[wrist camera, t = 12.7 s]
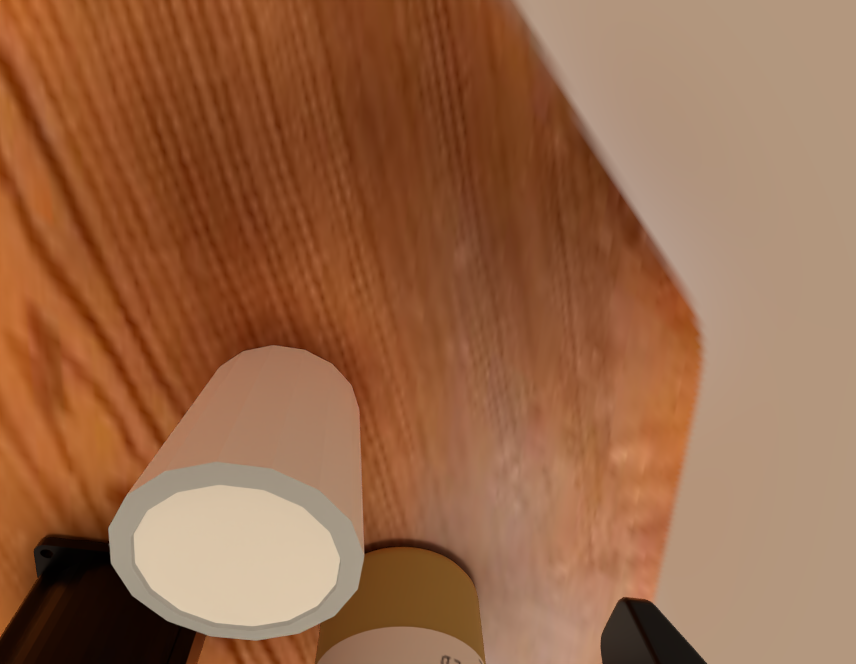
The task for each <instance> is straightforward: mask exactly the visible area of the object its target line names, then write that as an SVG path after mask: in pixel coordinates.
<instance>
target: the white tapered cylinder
mask: <svg viewBox="0 0 856 664" xmlns="http://www.w3.org/2000/svg"><path fill="white" fill-rule="evenodd" d="M108 532H109V545H110V558H111V564H112V566H113V567H114V569H115V570H116V572H117V573H118V575H119V577H120V578H121V580H122V581H123V583H124V584H125V586H126V587H127V589H128V590H129V592H130V593H131V595H132V596H133V597H135V598H136V599H137V600H139V601H140V602H141V603H143V604H144V605H146V606H147V607H148V608H150V609H151V610H153V611H154V612H155V613H157V614H158V615H160V616H161V617H162V618H164V619H165V620H167V621H169V622H172V623H174V624H177V625H180V626H183V627H186V628H188V629H191V630H194V631H197V632H200V633H203V634H205V635H208V636H213V637H224V638H234V639H245V640H262V639H269V638H275V637H281V636H287V635H293V634H299V633H301V632H303V631H305V630H307V629H309V628H311V627H313V626H315V625H317V624H319V623H321V622H323V621H325V620H328V619H330V618H332V617H334V616H335V615H336V614H337V613H338V612H339V610H340V609H341V608H342V607H343V606H344V605H345V603H346V602H347V601H348V600H349V599H350V598H351V597H352V595H353V594H354V593H355V592H356V591H357V590H358V586H359V581H360V576H361V571H362V566H363V561H364V531H363V501H362V472H361V442H360V413H359V407H358V403H357V400H356V397H355V394H354V391H353V388H352V385H351V384H350V383H349V382H348V381H347V379H346V378H345V377H344V376H343V375H342V374H341V373H340V372H339V371H338V369H337V368H336V367H335V366H334V365H333V364H332V363H330V362H328V361H326V360H324V359H322V358H320V357H318V356H316V355H314V354H312V353H310V352H308V351H307V350H304V349H297V348H290V347H283V346H276V345H271V346H266V347H261V348H256V349H251V350H246V351H242V352H241V353H239V354H238V355H236V356H235V357H233V358H232V359H230V360H229V361H227V362H226V363H224V364H223V365H221V366H220V367H219V368H218V370H217V371H216V372H215V374H214V375H213V377H212V378H211V379H210V381H209V382H208V384H207V385H206V386H205V388H204V389H203V390H202V392H201V393H200V395H199V396H198V397H197V399H196V400H195V401H194V403H193V404H192V406H191V407H190V408H189V410H188V411H187V412H186V414H185V415H184V417H183V418H182V419H181V421H180V422H179V424H178V425H177V426H176V428H175V429H174V430H173V432H172V433H171V435H170V436H169V437H168V439H167V440H166V441H165V443H164V444H163V446H162V447H161V448H160V450H159V451H158V453H157V454H156V455H155V457H154V458H153V459H152V461H151V462H150V464H149V465H148V466H147V468H146V469H145V470H144V472H143V473H142V475H141V476H140V477H139V479H138V480H137V481H136V483H135V484H134V486H133V487H132V488H131V490H130V491H129V493H128V494H127V495H126V497H125V499H124V501H123V502H122V504H121V506H120V508H119V510H118V511H117V513H116V515H115V517H114V519H113V520H112V522H111V524H110V526H109V527H108Z"/></svg>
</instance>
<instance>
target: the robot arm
mask: <svg viewBox="0 0 856 664" xmlns="http://www.w3.org/2000/svg"><path fill="white" fill-rule="evenodd" d="M34 557H35V563H36V570H37V577H38V579H37V580H36V582H35V584H34V585H33V587H32V588H31V590H30V591H29V593H28V595H27V596H26V598H25V599H24V601H23V602H22V604H21V606H20V607H19V609H18V610H17V612H16V613H15V615H14V617H13V618H12V620H11V621H10V623H9V624H8V626H7V627H6V629H5V631H4V632H3V634H2V635H1V637H0V664H197V662H198V659H199V656H200V653H201V650H202V646H203V643H204V640H205V637H206V635H205V634H203V633H200V632H197V631H194V630H191V629H188V628H186V627H183V626H180V625H177V624H174V623H172V622H169V621H167V620H165V619H164V618H162V617H161V616H160V615H158V614H157V613H155V612H154V611H153V610H151V609H150V608H148V607H147V606H146V605H144V604H143V603H141V602H140V601H139V600H137V599H136V598H135V597H133V596H132V595H131V593H130V592H129V590H128V589H127V587H126V586H125V584H124V583H123V581H122V580H121V578H120V577H119V575H118V573H117V572H116V570H115V569H114V567H113V566H112V564H111V558H110V545H109V544H105V543H96V542H87V541H78V540H69V539H60V538H51V537H50V538H43V539H41V541H40V542H39V543H38V545H37V546H36V547H35V549H34ZM601 656H602V663H603V664H707V663H706V662H705V661H704V659H703V658H702V657H701V656H700V655H699V654H698V653H697V652H696V650H695V649H694V648H693V647H692V646H691V645H690V644H689V643H688V642H687V640H686V639H685V638H684V637H683V636H682V635H681V634H680V633H679V632H678V631H677V629H676V628H675V627H674V626H673V625H672V624H671V623H670V621H669V620H668V619H667V618H666V617H665V616H664V615H663V614H662V613H661V611H660V610H659V609H658V608H657V607H656V606H655V605H654V604H653V603H652V602H650V601H648V600H645V599H638V598H629V597H623V598H622V599H620V600H619V601H618V602H617V604H616V606H615V608H614V610H613V612H612V614H611V616H610V618H609V620H608V622H607V624H606V626H605V628H604V630H603V633H602V636H601Z"/></svg>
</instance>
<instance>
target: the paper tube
mask: <svg viewBox="0 0 856 664" xmlns="http://www.w3.org/2000/svg"><path fill="white" fill-rule="evenodd" d="M315 664H486V663H485V654H484V645H483V636H482V628H481V619H480V610H479V601H478V596H477V592H476V589H475V586H474V584H473V582H472V581H471V579H470V578H469V576H468V575H467V574H466V573H465V572H464V571H463V570H462V569H461V568H460V567H459V566H458V565H457V564H456V563H454V562H453V561H452V560H450V559H448V558H447V557H445V556H443V555H441V554H438V553H436V552H433V551H429V550H426V549H421V548H414V547H390V548H384V549H379V550H375V551H372V552H369V553H366V554H364V561H363V566H362V571H361V576H360V581H359V586H358V590H357V591H356V592H355V593H354V594H353V595H352V597H351V598H350V599H349V600H348V601H347V602H346V603H345V605H344V606H343V607H342V608H341V609H340V610H339V612H338V613H337V614H336V615H335V616H334V617H332V618H330V619H328V620H325V621H323V622H321V625H320V632H319V640H318V647H317V654H316V661H315Z"/></svg>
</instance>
